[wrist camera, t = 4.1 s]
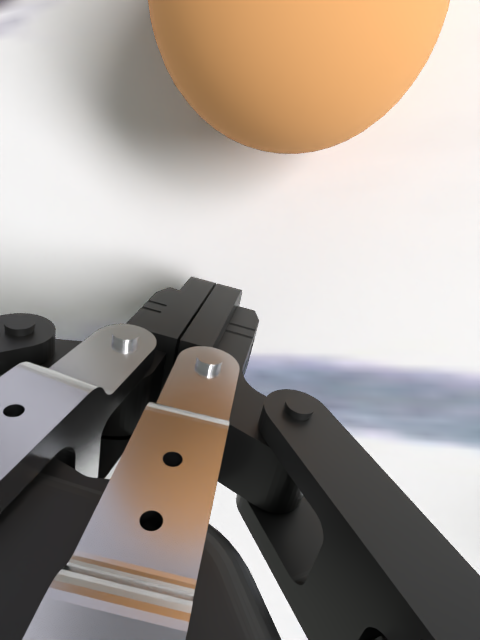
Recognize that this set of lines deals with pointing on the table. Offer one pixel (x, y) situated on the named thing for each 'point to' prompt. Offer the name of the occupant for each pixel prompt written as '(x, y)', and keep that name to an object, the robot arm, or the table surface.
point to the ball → (294, 64)
